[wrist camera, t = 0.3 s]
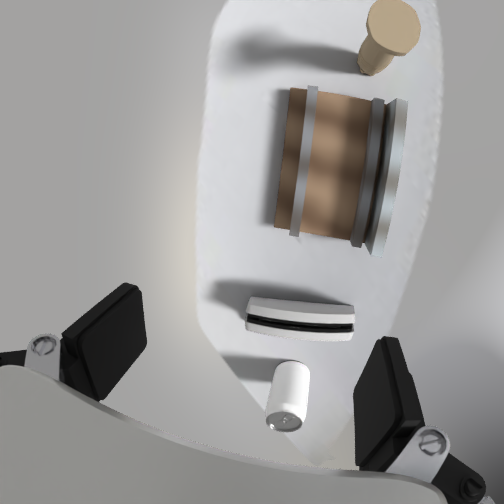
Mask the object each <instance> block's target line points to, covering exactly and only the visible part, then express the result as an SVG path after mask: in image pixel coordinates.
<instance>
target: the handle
mask: <svg viewBox="0 0 504 504" xmlns="http://www.w3.org/2000/svg"><path fill="white" fill-rule="evenodd" d="M366 27H367V32H368V36H367V37H366V39H365V40H364V42H363V43H362V45H361V48H360V50H359V54H358V59H357V64H358V65H359V67H360V72H362V73H366V74H368V75H369V76H373V75H375V74H376V73H379V72H381V71H382V70H383V69H385V68H386V67H387V66H388V65H389V64H390V62H391V61H392V59H393V57H394V56H404V55H406V54H407V53H408V52H409V51H410V50H411V49H412V48H413V47H414V46H415V45H416V44H417V43H418V40H419V36H420V30H421V26H420V22H419V19H418V16H417V14H416V11H415V10H414V9H413V8H412V7H411V6H410V5H408V4H407V3H405V2H403V1H401V0H377V1H376V2H375V3H374V4H373V5H372V6H371V8H370V11H369V14H368V18H367V22H366Z"/></svg>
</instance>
